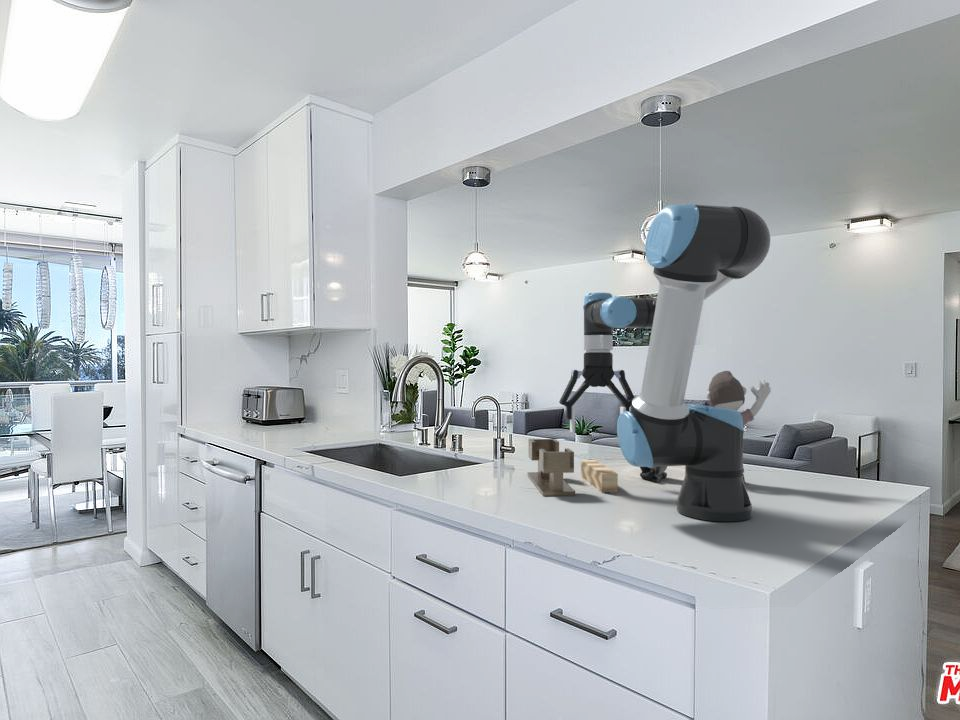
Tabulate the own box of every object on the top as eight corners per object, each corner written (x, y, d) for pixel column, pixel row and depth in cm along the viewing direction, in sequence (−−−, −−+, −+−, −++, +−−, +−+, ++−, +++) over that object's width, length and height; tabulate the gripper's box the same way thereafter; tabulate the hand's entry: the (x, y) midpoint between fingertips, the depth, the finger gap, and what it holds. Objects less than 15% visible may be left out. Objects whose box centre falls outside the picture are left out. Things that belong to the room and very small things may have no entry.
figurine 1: (667, 484, 160) (667, 427, 160) (630, 480, 166) (630, 425, 166) (676, 478, 169) (676, 424, 168) (641, 474, 174) (642, 422, 174)
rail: (617, 493, 151) (617, 473, 151) (601, 494, 151) (601, 473, 151) (594, 477, 171) (594, 460, 171) (580, 478, 171) (580, 460, 171)
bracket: (575, 495, 148) (575, 452, 148) (542, 496, 147) (542, 452, 147) (555, 475, 173) (555, 438, 173) (527, 475, 172) (527, 438, 172)
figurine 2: (764, 479, 166) (764, 370, 166) (777, 487, 157) (777, 371, 157) (695, 478, 168) (695, 370, 168) (704, 485, 159) (704, 371, 159)
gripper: (639, 351, 165) (639, 429, 166) (548, 351, 164) (548, 430, 164) (649, 351, 158) (648, 433, 158) (554, 351, 156) (554, 434, 157)
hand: (597, 431), depth 161 cm, fingers open, 13 cm apart
